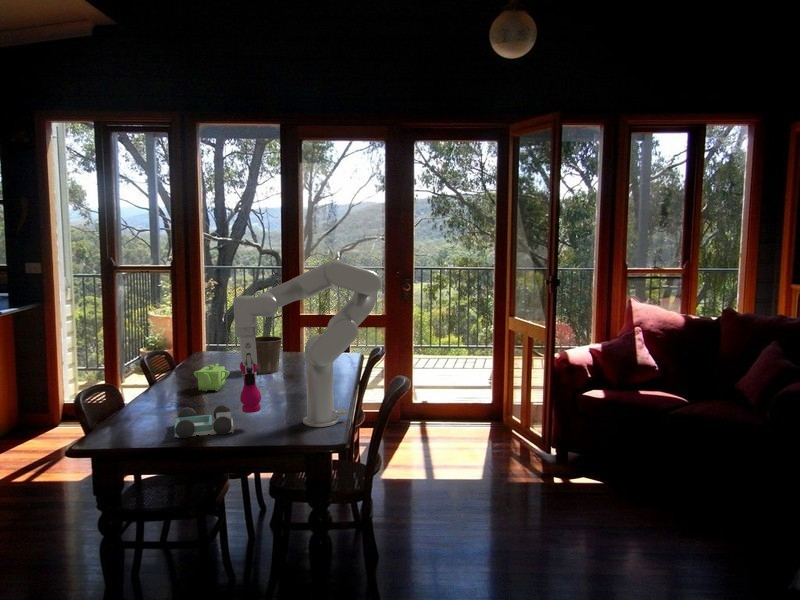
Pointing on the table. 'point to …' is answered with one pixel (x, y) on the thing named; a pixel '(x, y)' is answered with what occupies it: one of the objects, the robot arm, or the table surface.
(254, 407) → the pepper mill
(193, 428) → the chassis
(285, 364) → the table surface
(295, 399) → the table surface
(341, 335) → the robot arm
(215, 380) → the teapot
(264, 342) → the plant pot
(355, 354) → the table surface
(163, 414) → the table surface
